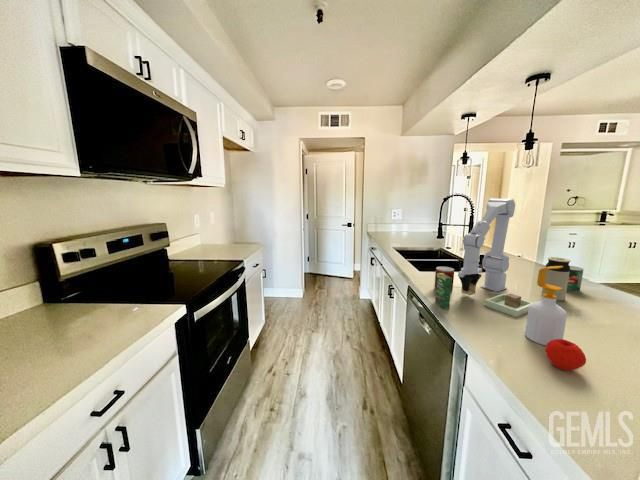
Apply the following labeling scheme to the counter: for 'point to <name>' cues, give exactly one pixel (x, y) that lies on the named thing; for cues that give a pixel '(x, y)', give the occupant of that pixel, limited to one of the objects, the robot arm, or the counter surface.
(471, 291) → the block
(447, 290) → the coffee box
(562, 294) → the travel mug
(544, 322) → the soap bottle
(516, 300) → the block
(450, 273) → the canned food
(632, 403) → the counter surface
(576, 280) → the canned tomato
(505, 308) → the tray
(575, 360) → the apple
